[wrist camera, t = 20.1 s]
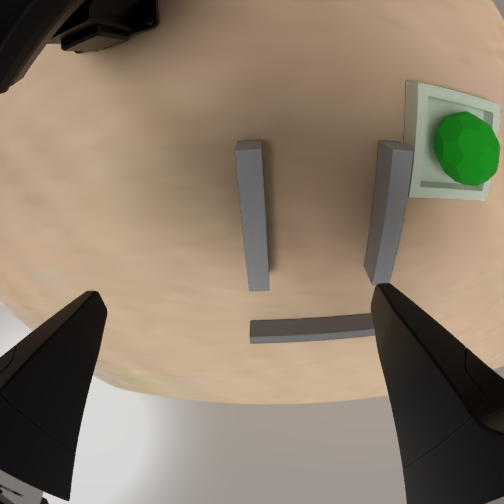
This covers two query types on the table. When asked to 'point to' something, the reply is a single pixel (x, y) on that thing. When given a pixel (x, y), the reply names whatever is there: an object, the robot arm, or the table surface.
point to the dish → (422, 138)
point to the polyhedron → (466, 148)
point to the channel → (377, 254)
